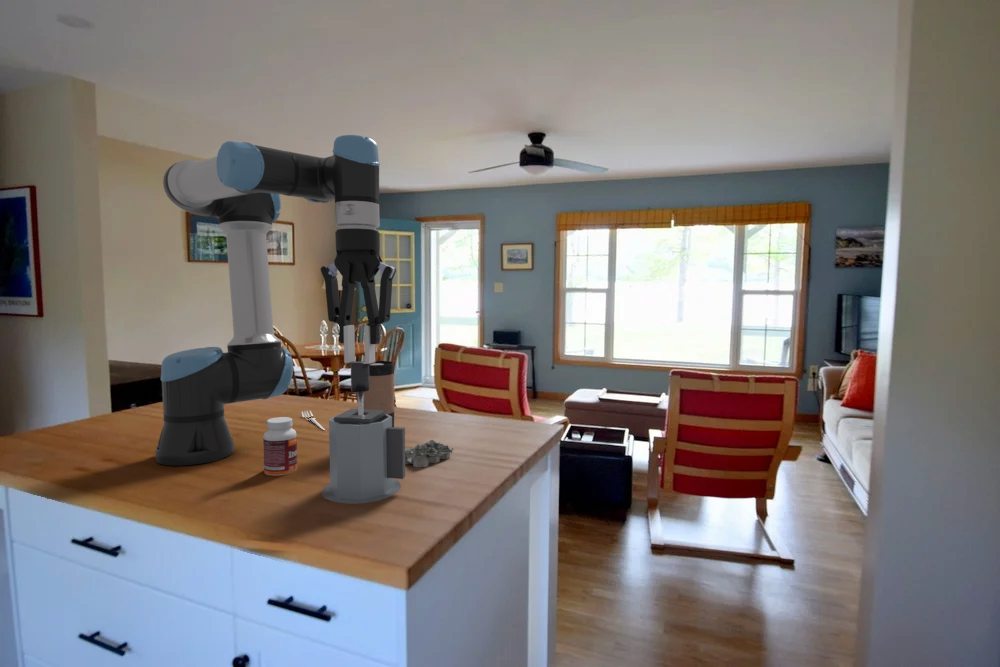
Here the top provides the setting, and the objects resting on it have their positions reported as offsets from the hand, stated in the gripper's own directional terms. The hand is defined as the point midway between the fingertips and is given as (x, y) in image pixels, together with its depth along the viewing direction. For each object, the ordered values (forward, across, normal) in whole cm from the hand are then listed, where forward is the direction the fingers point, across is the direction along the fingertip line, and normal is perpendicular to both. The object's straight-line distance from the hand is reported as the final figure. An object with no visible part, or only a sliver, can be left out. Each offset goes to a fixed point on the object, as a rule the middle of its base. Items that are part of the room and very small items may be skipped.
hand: (359, 361), depth 97 cm
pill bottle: (+24, -20, +6) cm, 32 cm away
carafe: (+23, +1, 0) cm, 23 cm away
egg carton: (+24, +6, +18) cm, 31 cm away
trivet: (+24, 0, 0) cm, 24 cm away
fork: (+25, -34, +44) cm, 61 cm away
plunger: (+21, 0, 0) cm, 21 cm away
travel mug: (+24, -8, +26) cm, 36 cm away
